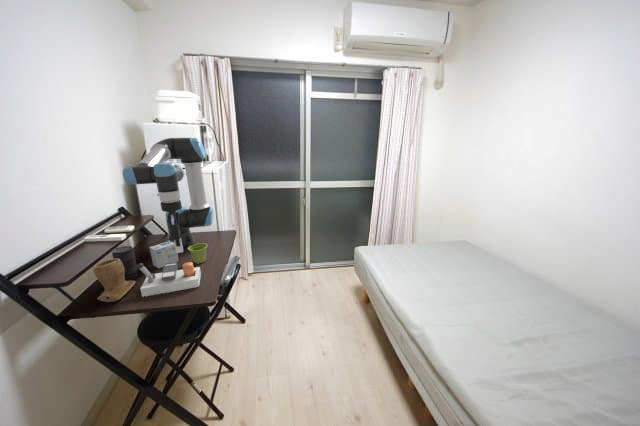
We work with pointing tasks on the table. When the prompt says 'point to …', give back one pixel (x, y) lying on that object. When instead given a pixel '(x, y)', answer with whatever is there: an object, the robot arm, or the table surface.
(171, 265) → the plate
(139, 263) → the toggle lever
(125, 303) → the table surface
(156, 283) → the console
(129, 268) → the camera lens
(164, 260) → the light bulb box
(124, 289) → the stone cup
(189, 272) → the orange button
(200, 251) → the plant pot
